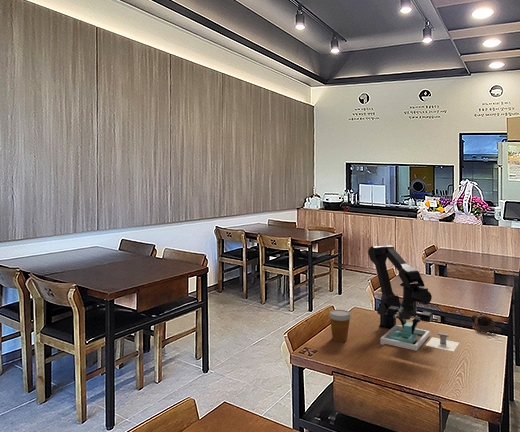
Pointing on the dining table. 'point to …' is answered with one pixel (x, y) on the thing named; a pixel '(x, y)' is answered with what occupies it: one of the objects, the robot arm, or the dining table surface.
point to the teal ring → (405, 334)
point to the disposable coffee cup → (339, 324)
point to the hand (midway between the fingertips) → (408, 332)
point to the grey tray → (386, 340)
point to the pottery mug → (483, 323)
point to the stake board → (446, 347)
